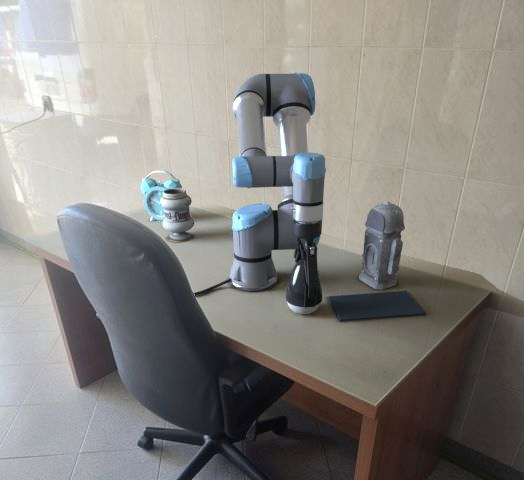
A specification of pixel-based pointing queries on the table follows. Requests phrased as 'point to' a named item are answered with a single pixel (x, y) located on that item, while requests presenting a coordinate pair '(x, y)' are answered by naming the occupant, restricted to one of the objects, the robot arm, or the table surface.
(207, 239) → the table surface
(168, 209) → the apothecary jar
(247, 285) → the robot arm
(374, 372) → the table surface
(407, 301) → the desk mat
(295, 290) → the black rounded piece
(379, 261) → the figurine
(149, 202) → the alarm clock
